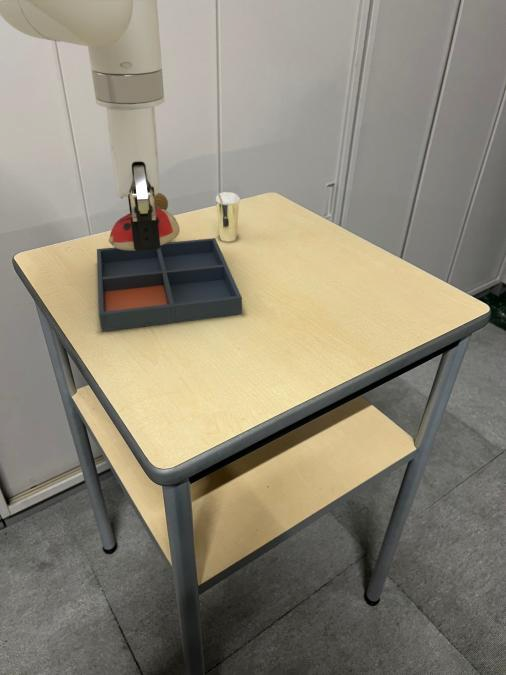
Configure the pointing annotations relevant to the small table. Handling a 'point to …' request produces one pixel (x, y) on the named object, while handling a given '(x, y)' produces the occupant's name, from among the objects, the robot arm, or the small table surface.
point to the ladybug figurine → (123, 230)
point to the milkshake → (227, 215)
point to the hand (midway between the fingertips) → (145, 234)
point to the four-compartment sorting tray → (165, 285)
